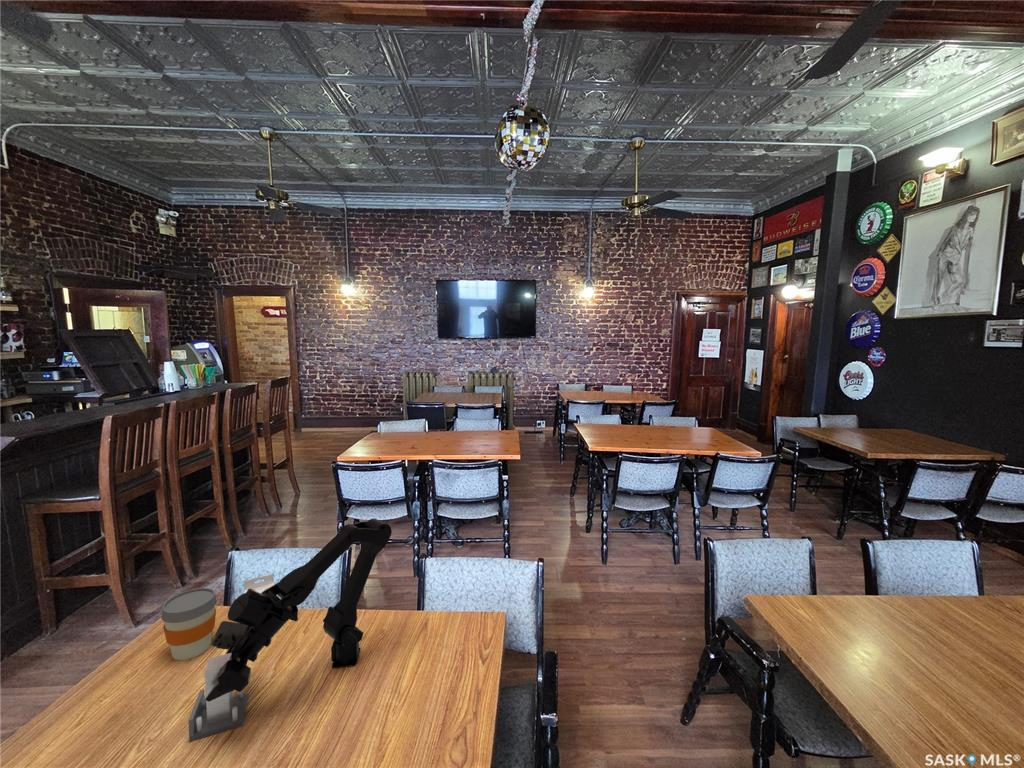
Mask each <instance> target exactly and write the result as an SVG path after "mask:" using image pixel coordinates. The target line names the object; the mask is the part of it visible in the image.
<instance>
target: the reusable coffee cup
mask: <svg viewBox="0 0 1024 768" xmlns="http://www.w3.org/2000/svg"><path fill="white" fill-rule="evenodd" d="M217 603H218V602H217V596H216V592H215V590H214V589H213V588H210V587H209V588H208V587H197V588H193V589H188V590H186V591H182V592H180V593H178V594H176V595H174V596H172V597H170V598H168V600H166V601H165V602H164V603H163V605H162V607H161V620H162V621H163V623H164V624H163V626H162V627H163V631H164V632H163V633H164V636H165V640H166V643H167V644H168V645H169V648H170V652H171V656H172V659H174V660H175V661H186V660H190V659H193V658H196V657H198V656H200V655H201V654H203V653H205V652H206V651H207V650H208V649H209V648H210V647H211V646H212V640H213V639H212V637H213V630H214V629H215V625H216V615H217V609H216V606H217Z"/></svg>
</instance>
